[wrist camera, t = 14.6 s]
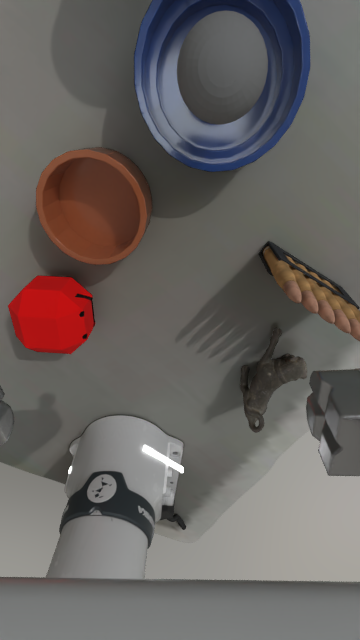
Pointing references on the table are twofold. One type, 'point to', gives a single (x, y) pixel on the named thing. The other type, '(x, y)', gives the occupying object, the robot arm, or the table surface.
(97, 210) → the terracotta dish
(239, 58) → the light bulb
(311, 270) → the ammunition clip
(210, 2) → the blue bowl
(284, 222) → the table surface
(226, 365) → the table surface
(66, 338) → the ball
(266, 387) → the dog figurine
